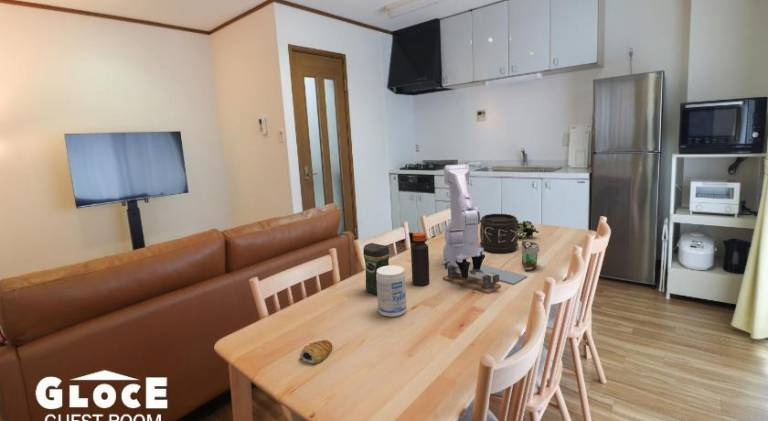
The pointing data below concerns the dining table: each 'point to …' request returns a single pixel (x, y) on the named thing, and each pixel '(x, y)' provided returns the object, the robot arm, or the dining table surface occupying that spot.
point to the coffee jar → (374, 263)
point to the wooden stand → (471, 281)
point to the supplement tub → (391, 290)
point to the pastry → (316, 351)
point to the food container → (529, 255)
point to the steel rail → (474, 272)
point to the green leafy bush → (526, 229)
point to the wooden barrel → (499, 233)
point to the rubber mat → (503, 274)
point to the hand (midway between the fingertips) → (470, 275)
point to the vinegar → (420, 260)
